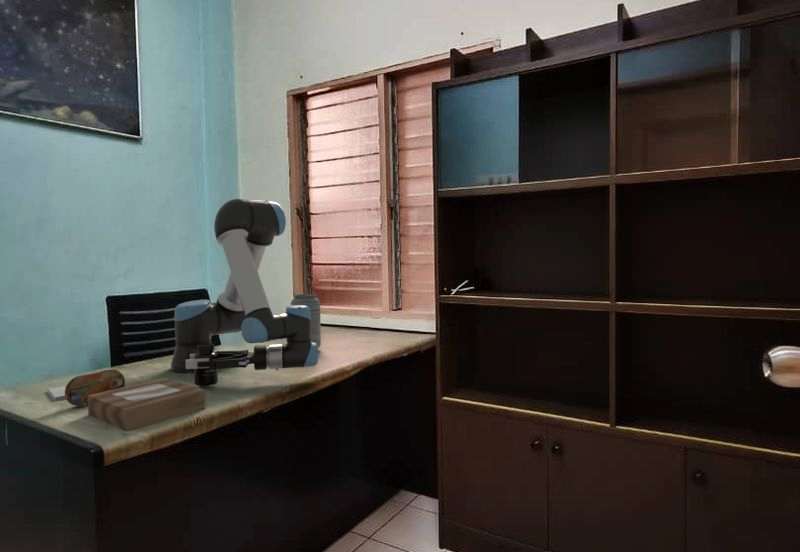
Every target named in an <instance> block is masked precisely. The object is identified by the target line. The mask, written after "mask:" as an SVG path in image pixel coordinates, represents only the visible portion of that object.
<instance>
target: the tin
mask: <svg viewBox="0 0 800 552" xmlns="http://www.w3.org/2000/svg"><path fill="white" fill-rule="evenodd" d="M125 385H126V380H125V376H124V375H123V373H121V371H119V370H116V369H103V370H99V371H94V372H91V373H86V374H82V375H78V376H75V377H73V378H71V380H69V382H68V383H67V384H66V385H65V386H66V388H65V397H66V399H65V400H66V401H67V403H69V404H70V405H72V406H74V407H75V406H76V407H78V408H86V407H88V395H92V394H96V393H101V392H105V391H110V390H114V389H119V388H123V387H126V386H125Z"/></svg>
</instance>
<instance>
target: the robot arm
mask: <svg viewBox="0 0 800 552" xmlns="http://www.w3.org/2000/svg"><path fill="white" fill-rule="evenodd" d="M286 225H287V219H286V215H285V211H284V208H282V206H281V205H280V204H279V203H278V202H275V201H269V200H267V199H266V200H259V199H257V200H256V199H246V198H234V199H230V200H228V201H226V202H225V203H224V204H222V205H221V207H220V208H219V210H218V211H217V213H216V215H215V219H214V227H213V228H214V229H213V230H214V236H215V238H216V242H217V243H218V245H221V246H222V249H223V251H224V254H225V258H226V261H227V264H228V267H229V271H230V272H229V273H230V274H229V276H228V280H227V283H226V285H225V289H224V291H222V292H221V293H219V295H218V296H217V299H216V302H210V300H209V299H198V300H196V299H195V300H190V301H185V302H183V303H179V304H177V305H176V306H175V308H174V316H173V320H174V333H175V334H174V336H175V337H174V338H175V349H174V352H173V354H172V357H171V362H170V371H172V372H174V373H194V369H198V368H211V370H214V369H218V370H220V369H222V370H223V369H237V368H243V369H244V368H247V366H249V365H252V364H253V367H254V370H255V371H262V370H263V371H265V370H267V368H268V369H269V370H276V371H279V370H280V369H291V368H293V369H295V368H302V369H304V368H308V367H315V366H316V365H317V364H318V362H319V348H318V346H317V343H313V342H311V314H310V308H309V307H308V306H305V305H293V306H291V305H289V306H287V307H286V308H285V313H280V314H279V313H278V314H273V312H272V309H271V307H270V304H269V301H268V300H269V299H268V298H267V295H266V292H265V289H264V286H263V284H262V283H263V282H262V280H261V277H260V274H259V268H260V265H261V262H262V260H263V256H264V254H265V250H266V247H271V245H272V244H273V241H274V239H275V237H278V236H280V235H281V236H282V235H283V233H284V232H285V230H286ZM234 333H240V334H241V336H242V338H243V340H244V341H245V342H246V343H247V344H257V345H254V348H253V351H249V349H244V350H243V349H242V350H217V351H214V352H215V353H217V355H218V358H217V359H212V357H209V358H205V359H194V356H195V354H197V353H198V351H197V345H198V344H202V343H212V336H217V335H225V334H234ZM284 339H286V343H280V344H279V343H277V344H268V346H267V345H266V344H263V343H266V342H271V341H276V340H277V341H278V340H284ZM259 343H260V345H258V344H259ZM261 344H262V345H261Z"/></svg>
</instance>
